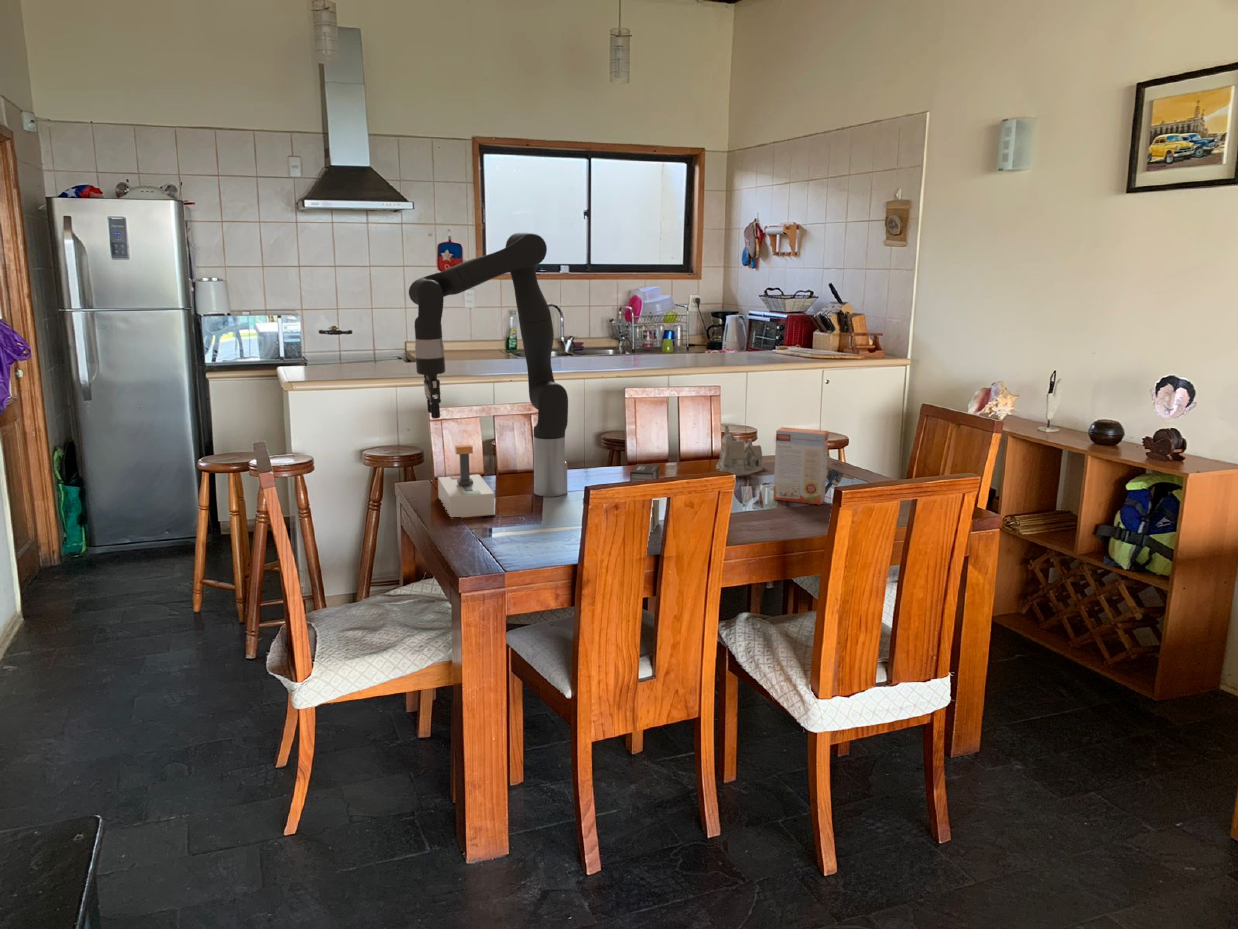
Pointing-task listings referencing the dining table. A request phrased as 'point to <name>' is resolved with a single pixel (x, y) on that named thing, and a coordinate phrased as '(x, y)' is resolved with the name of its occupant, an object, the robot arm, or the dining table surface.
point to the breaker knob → (464, 464)
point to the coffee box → (647, 473)
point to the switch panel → (466, 497)
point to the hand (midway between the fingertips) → (433, 415)
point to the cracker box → (800, 465)
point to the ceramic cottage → (739, 456)
